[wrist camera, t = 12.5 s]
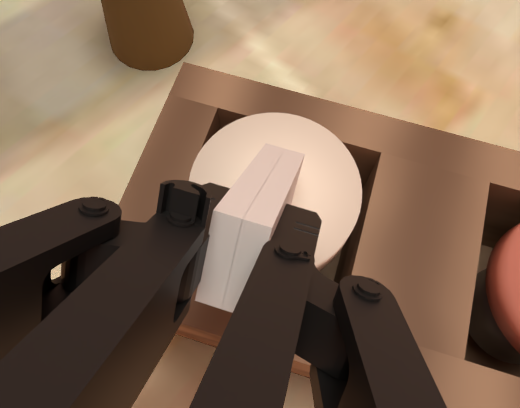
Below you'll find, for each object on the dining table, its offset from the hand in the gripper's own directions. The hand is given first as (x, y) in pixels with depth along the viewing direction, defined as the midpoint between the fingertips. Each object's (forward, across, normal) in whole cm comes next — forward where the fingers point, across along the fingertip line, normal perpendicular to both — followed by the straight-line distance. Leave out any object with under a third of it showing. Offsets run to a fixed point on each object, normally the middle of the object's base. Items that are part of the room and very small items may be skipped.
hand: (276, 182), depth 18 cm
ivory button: (+6, 0, -6) cm, 8 cm away
